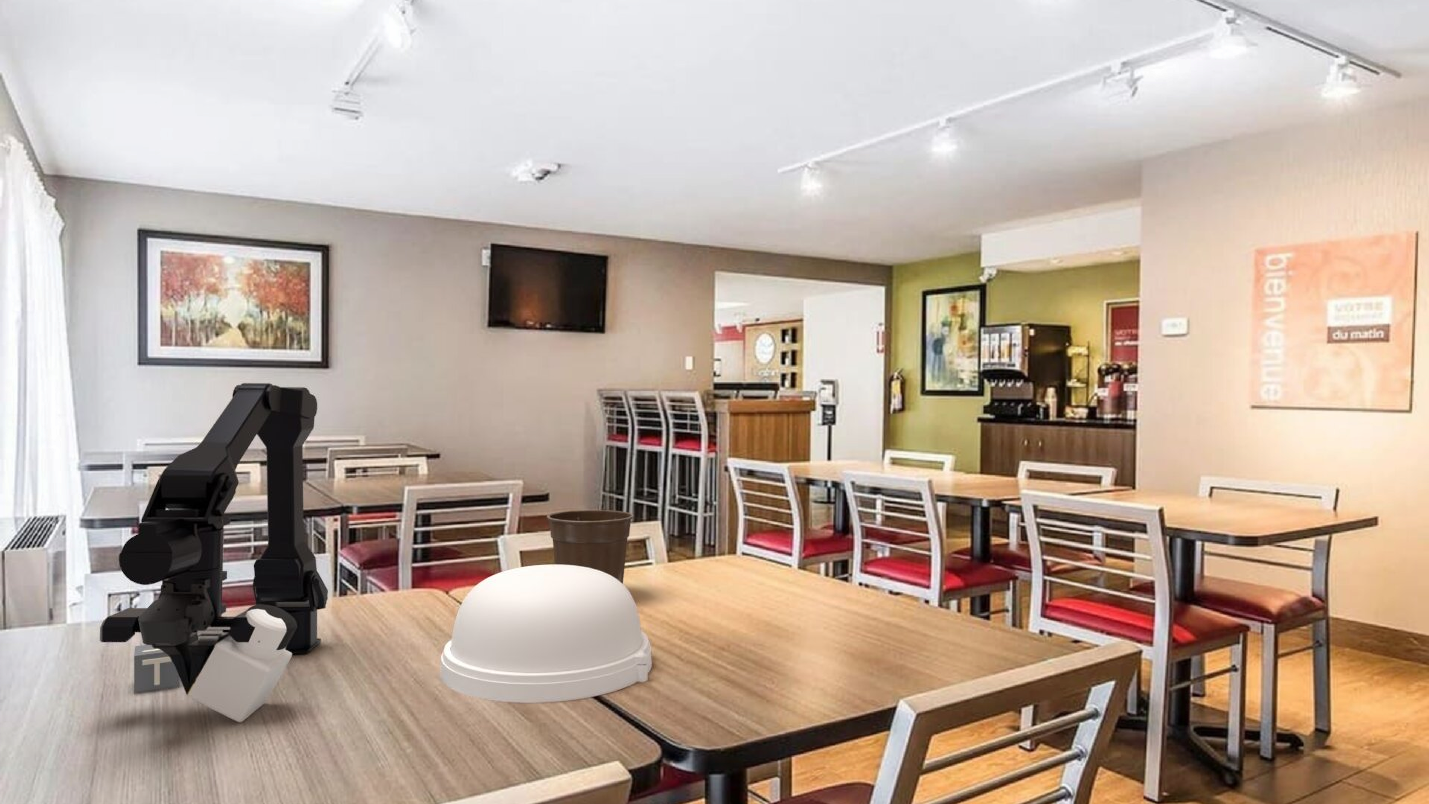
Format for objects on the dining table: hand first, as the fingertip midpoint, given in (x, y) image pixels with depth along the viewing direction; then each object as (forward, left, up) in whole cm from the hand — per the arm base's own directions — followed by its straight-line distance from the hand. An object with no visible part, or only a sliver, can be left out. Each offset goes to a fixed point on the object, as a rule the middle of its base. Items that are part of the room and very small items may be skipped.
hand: (192, 695), depth 106 cm
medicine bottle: (-4, 0, -1) cm, 4 cm away
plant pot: (-46, -55, -3) cm, 72 cm away
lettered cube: (+10, -12, -3) cm, 15 cm away
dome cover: (-41, -16, -3) cm, 44 cm away
